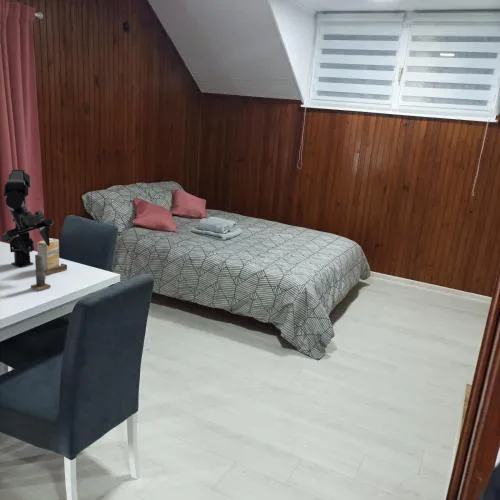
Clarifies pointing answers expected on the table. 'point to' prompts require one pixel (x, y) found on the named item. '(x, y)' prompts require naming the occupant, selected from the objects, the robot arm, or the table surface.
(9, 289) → the table surface
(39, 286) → the grey knob lever
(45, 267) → the supplement box
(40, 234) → the robot arm
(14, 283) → the table surface
